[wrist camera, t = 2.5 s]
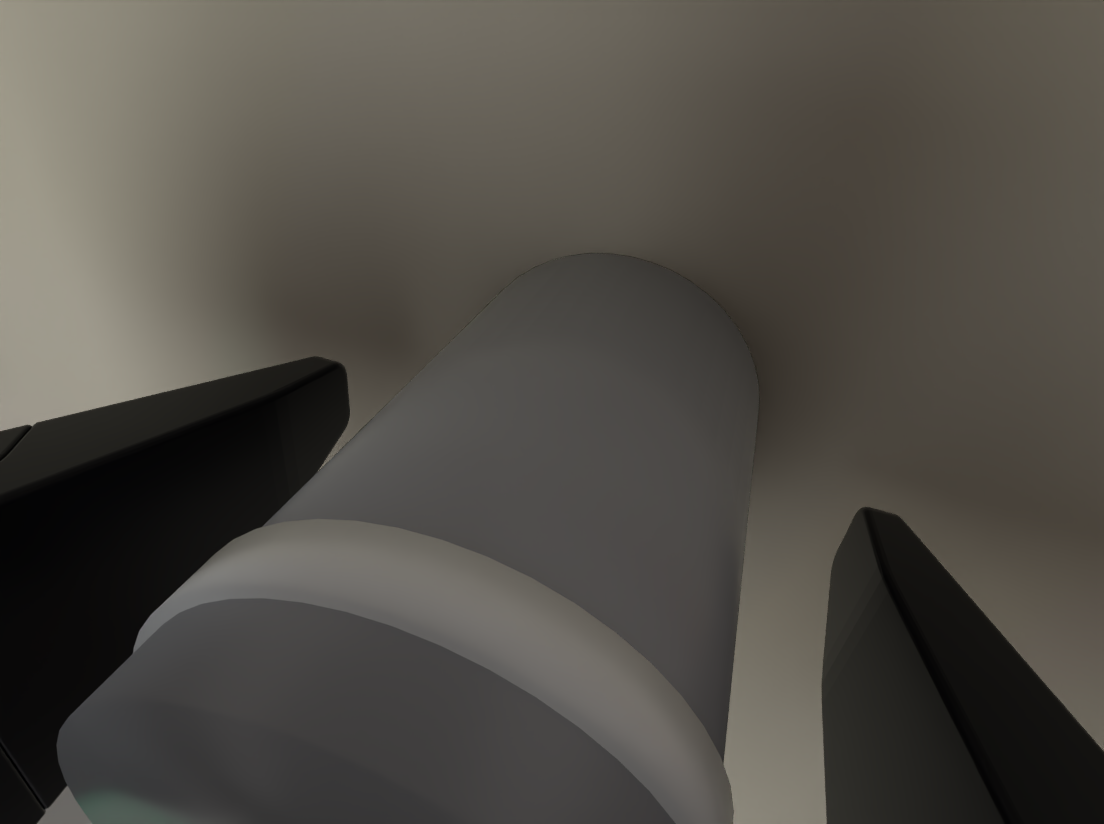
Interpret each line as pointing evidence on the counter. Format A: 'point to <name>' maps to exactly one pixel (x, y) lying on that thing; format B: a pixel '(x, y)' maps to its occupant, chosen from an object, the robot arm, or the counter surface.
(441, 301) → the counter surface
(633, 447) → the lens
